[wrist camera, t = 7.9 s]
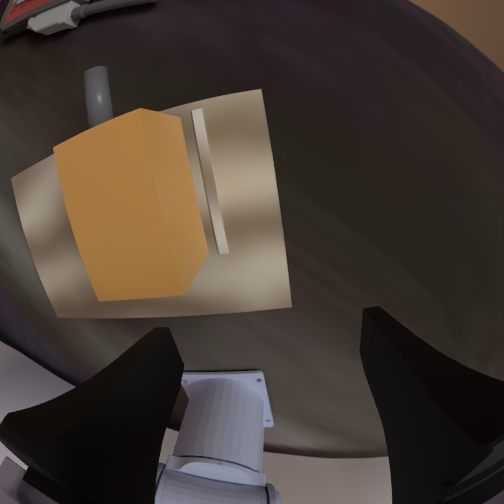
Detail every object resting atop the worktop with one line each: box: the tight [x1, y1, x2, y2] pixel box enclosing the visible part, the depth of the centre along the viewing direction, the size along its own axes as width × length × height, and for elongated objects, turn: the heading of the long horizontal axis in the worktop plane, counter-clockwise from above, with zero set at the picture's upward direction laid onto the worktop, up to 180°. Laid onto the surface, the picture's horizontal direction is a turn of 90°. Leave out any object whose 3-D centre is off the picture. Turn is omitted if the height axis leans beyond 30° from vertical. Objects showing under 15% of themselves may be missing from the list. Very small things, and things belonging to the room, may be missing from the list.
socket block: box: [53, 66, 209, 301], centre depth 12 cm, size 11×5×5 cm, turn 10°
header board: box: [11, 89, 292, 318], centre depth 16 cm, size 14×22×5 cm, turn 99°
